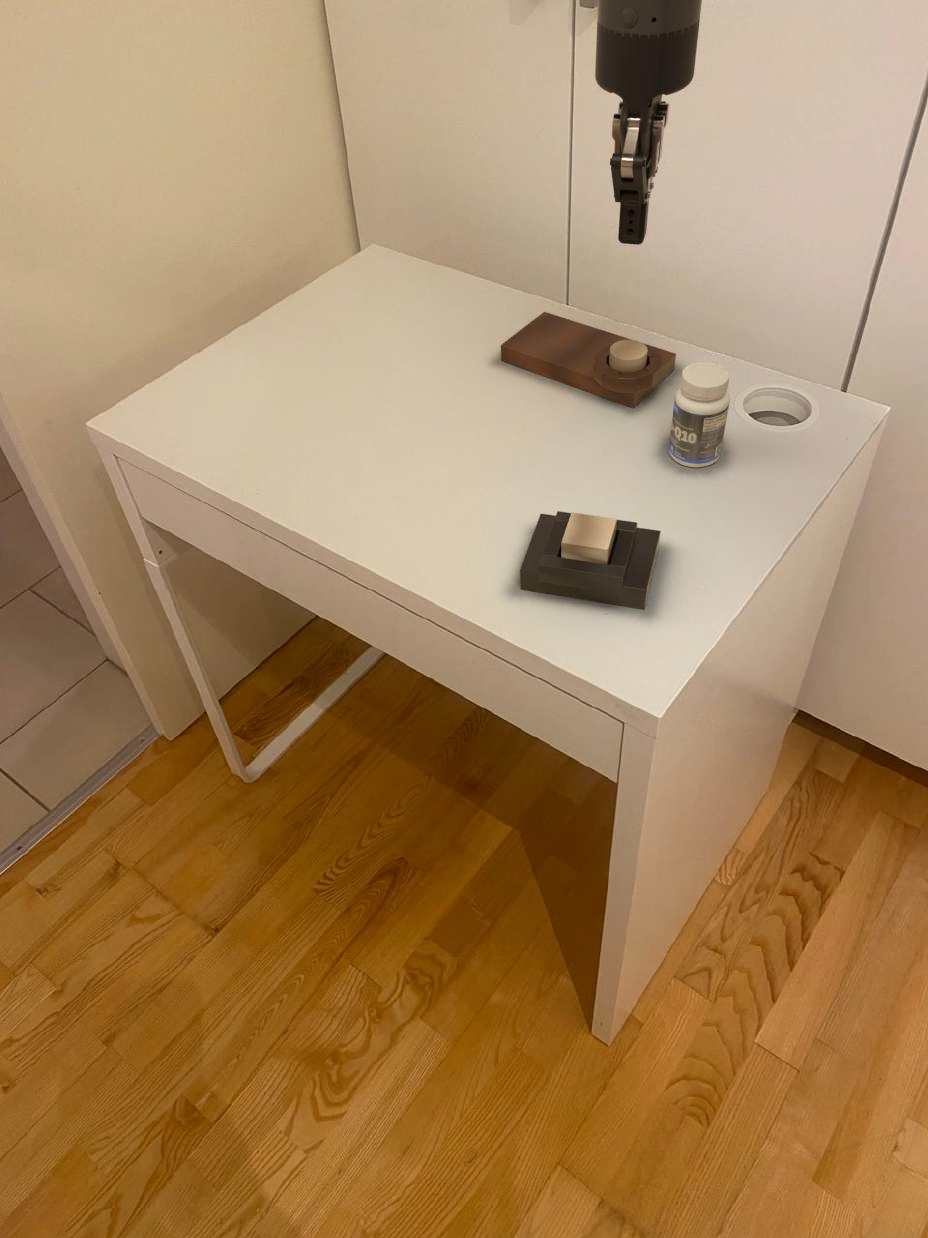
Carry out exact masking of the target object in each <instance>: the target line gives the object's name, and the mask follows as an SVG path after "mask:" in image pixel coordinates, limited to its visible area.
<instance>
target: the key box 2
mask: <svg viewBox="0 0 928 1238" xmlns="http://www.w3.org/2000/svg"><path fill="white" fill-rule="evenodd" d="M571 513H572V512H567V511H559V510H557V512H556V514H549V513H548V514H547V513H540V514H539V517H538V519H537V522H536V525H535V528H534V530H533V533H532V536H531V538H530V541H529V544H528V547H527V550H526V552H525V554H524V557H523V559H522V563H521V565H520V569H519V584H520V590H522V591H529V592H536V593H541V594H547V595H554V596H560V597H566V598H572V599H578V600H583V601H584V600H585V601H590V602H597V603H601V604H607V605H614V606H621V607H625V608H626V607H627V608H632V609H637V610H638V609H639V610H645V609H646V604H647V601H648V596H649V592H650V587H651V584H652V579H653V575H654V571H655V566H656V563H657V558H658V554H659V549H660V541H661V540H660V539H661V530H658V529H650V528H644V527H638V522H637V521H629V520H623V519H617V523H616V536H615V539H614V543H613V546H612V550H611V553H610V557H609V561H608V564H607V565H606V564H599V563H593V562H587V561H580V560H574V559H567V558H561V542H562V539H563V536H564V533H565V530H566V527H567V524H568V521H569V518H570V515H571Z"/></svg>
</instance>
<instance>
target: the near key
mask: <svg viewBox="0 0 928 1238" xmlns="http://www.w3.org/2000/svg"><path fill="white" fill-rule="evenodd" d="M570 513H571V515H570V518H569V521H568V524H567V527H566V530H565V533H564V536H563V539H562V542H561V558H567V559H574V560H580V561H587V562H593V563H599V564H606V565H607V564H608V561H609V557H610V553H611V550H612V546H613V543H614V539H615V536H616V523H617V520H618V519H617V518H613V517H607V516H606V517H605V516H600V515H592V514H585V513H577V512H570Z"/></svg>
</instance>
